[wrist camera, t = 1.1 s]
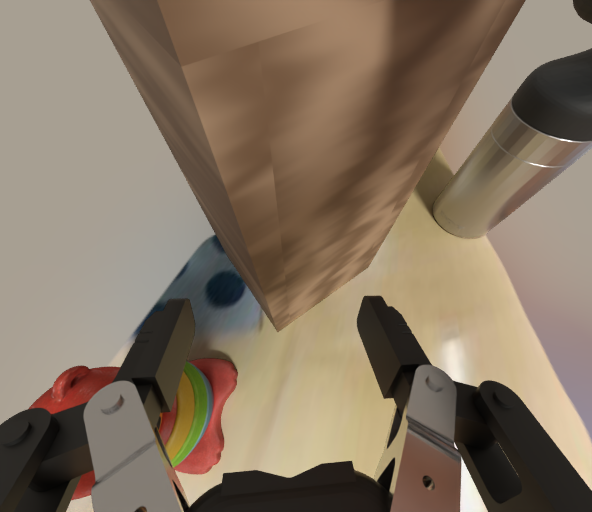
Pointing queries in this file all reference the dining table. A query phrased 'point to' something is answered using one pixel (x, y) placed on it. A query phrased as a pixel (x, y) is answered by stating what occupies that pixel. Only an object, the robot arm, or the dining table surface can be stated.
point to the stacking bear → (172, 425)
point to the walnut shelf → (304, 119)
